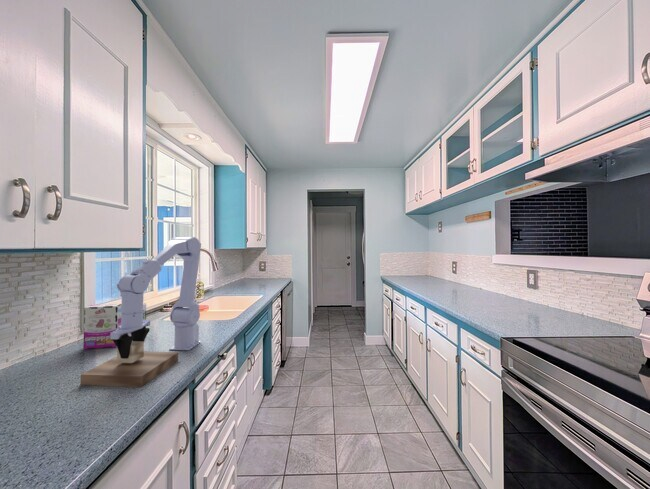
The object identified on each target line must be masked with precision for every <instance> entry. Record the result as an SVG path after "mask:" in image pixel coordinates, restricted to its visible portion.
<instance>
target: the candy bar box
mask: <svg viewBox="0 0 650 489" xmlns="http://www.w3.org/2000/svg"><path fill="white" fill-rule="evenodd" d="M121 307H122V303H112V304H111V303H109V304H93V305H92V304H91V305H88V306H85V307H84V308H83V350H97V349H98V350H99V349H108V348H117V346H116V344H115V343H114V342H113V341H112V339H110V334H111V332H114V331H115V330H117V329H118V326H120V325H121Z"/></svg>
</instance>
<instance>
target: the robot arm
mask: <svg viewBox="0 0 650 489" xmlns="http://www.w3.org/2000/svg"><path fill="white" fill-rule="evenodd" d="M201 247H202V243H201V242H200V240H199V239H198V237H196V236H194V237H193V236H192V237H191V236H190V237H189V236H188V237H187V236H186V237H185V236H184V237H179V236H174V237H172V238H171V239H170V240H168V242H167V245H166V246H165V247H163V249H161V251H160V252H159V253H158V254H157V255H156V256H155V257H154V258H153V259H152V258H151V259H150V258H148V259H144V260H143V261H142V263H141V264H140V265H139V266H138V267H136V269H133V270H132V271H131V272H130V274H126V275H123V276H122V277H121V278H120V279H119V281H118V283H117V284H116V289H117V290H118V291H119V293H120V297H121V304H122V307H121V325H120V326H118V329H117V330H115V331H114V332H111V334H110V339H112V341H113V342H114V343H115V344H116V346H117V347H116V349H117V348H118V350H119V353H120V357H121V358H123V359H127V358H129V354H130V347H131V343H132V341H144V342H145V340H146V338H147V336H148V334H149V333H150V332H151V328H149V327H150V326H151V319H146V320H143V303H144V295H145V294H144V293H145V291H147V290H148V288H149V284H150V283H151V280H153V279H154V278H155V277H156V276H157V275H158V274H159V273H160V272H162V266H163V265H164V264H166V263H167V262H168V261H169V260H170V259H172V258H173V257H175V256H178V257H180V258H182V260H183V261H184V263H183V271H182V277H181V284H180V292H179V299H178V300H177V301H175V303H173V306H172V309H171V311H170V315H169V319H170V321H171V322H172V325H173V326H174V345H173V346H171V347H170V348H168V350H169V351H190V350H191V349H193V348H194V347H196V346H197V345H199V344H200V343H201V342H202V341H201V340H199V339H200V338H199V334H200V333H199V332H200V329H199V328H200V327H199V325H198V322H199V320H200V317H201V315H200V313H201V312H200V304H199V303H197V301H196V300H195V297H196V296H195V294H196V288H197V280H198V272H199V266H200V265H199V264H200V254H201ZM145 327H146V328H145ZM129 333H131V336H129V335H128V334H129Z"/></svg>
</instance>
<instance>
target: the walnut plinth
mask: <svg viewBox="0 0 650 489" xmlns="http://www.w3.org/2000/svg"><path fill="white" fill-rule="evenodd" d="M178 361H179V352H178V351H177V352H176V351H151V350H150V351H148V350H147V351H145V350H144V357H142V358H140V359H139V360H137V361H135V362H133V363H117V356H115V357H113V358H111V359H109V360H107V361H106V362H103V363H100V364H99V365H97V366H95V367H93V368H91V369H89V370H87V371H85V372H83V373H81V374H80V386H102V387H106V386H107V387H129V388H130V387H132V388H133V387H134V388H141V387H143V386H145V385H146V384H148V383H149V382H150V381H152V380H153V379H155V378H156V377H157V376H159V375H160V374H161V373H163V372H164V371H166V370H167V369H168V368H170V367H171V366H172V365H174V364H175V363H177V362H178Z"/></svg>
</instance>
